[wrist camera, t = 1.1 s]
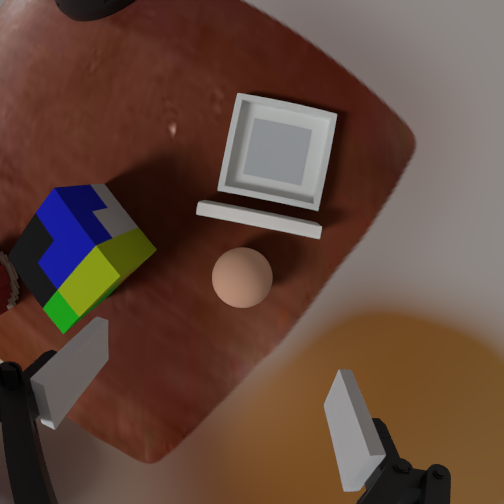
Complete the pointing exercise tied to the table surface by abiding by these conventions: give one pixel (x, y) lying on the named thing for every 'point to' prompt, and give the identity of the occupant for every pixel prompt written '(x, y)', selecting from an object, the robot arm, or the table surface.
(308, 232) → the low wall
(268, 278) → the ball
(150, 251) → the puzzle toy
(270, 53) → the table surface
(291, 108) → the light gray square tray
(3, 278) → the cake
